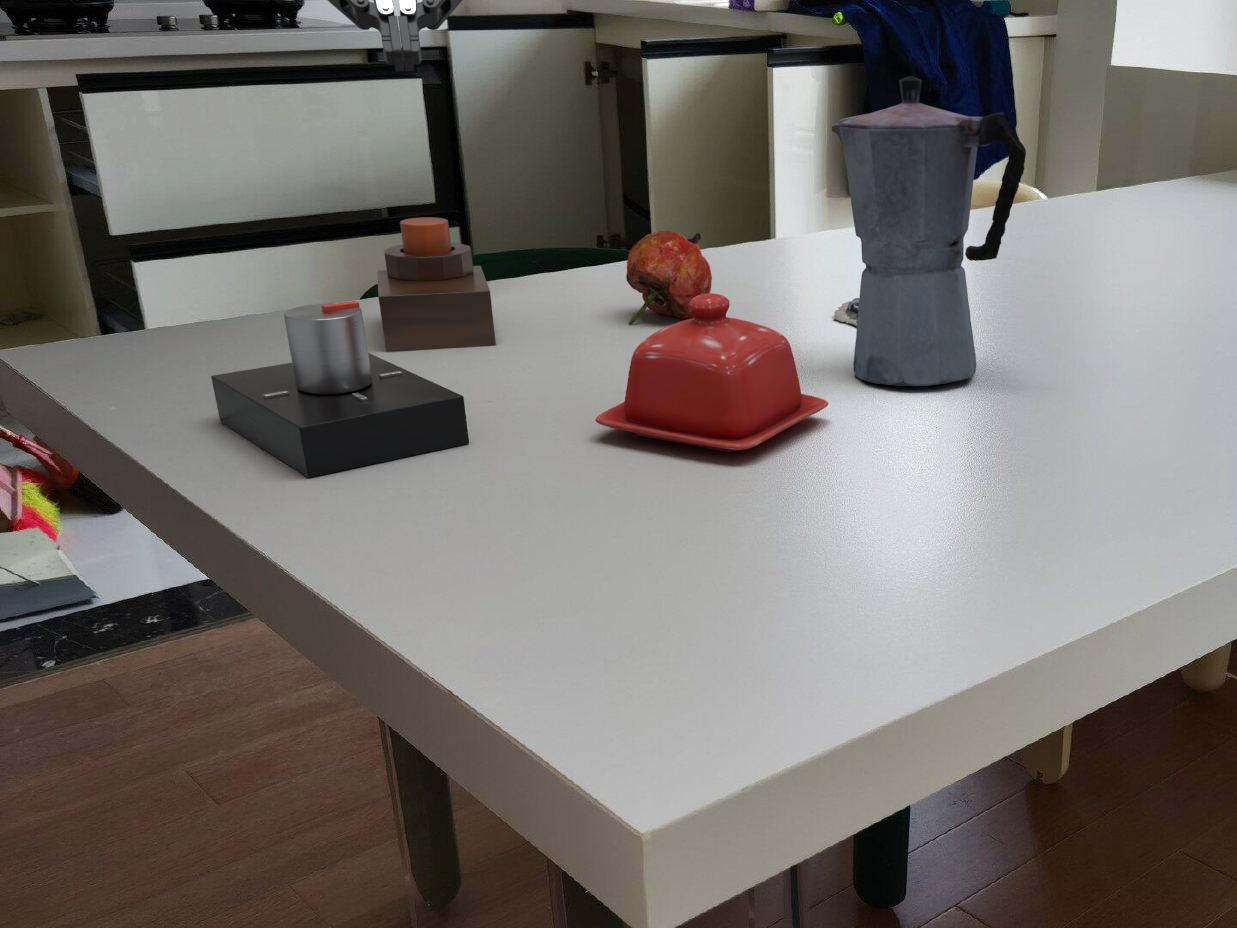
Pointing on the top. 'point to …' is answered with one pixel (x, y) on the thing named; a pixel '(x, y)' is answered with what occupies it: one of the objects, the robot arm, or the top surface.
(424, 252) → the button
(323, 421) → the panel
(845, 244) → the top surface
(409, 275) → the control block
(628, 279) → the pomegranate
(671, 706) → the top surface
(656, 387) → the butter dish
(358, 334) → the hob knob
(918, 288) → the moka pot
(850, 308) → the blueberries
